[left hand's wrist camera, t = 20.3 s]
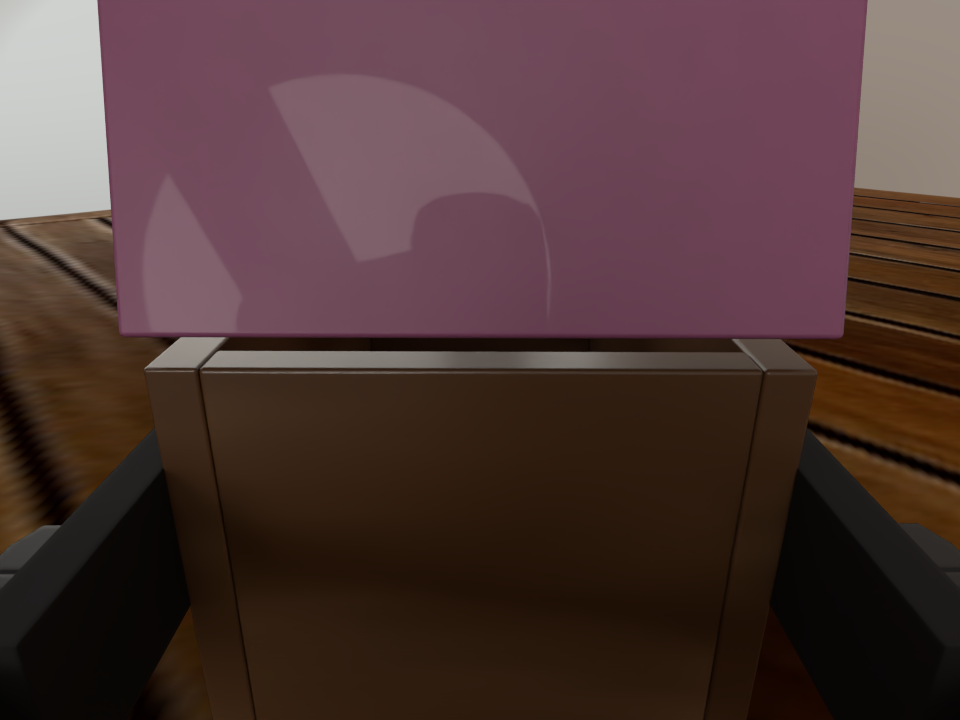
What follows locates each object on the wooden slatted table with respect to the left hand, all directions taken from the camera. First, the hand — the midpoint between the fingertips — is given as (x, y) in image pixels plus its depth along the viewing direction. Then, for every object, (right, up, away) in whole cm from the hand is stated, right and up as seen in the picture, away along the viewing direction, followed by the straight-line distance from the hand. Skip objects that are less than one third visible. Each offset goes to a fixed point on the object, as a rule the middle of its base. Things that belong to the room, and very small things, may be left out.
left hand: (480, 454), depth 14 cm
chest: (0, -4, +7) cm, 8 cm away
